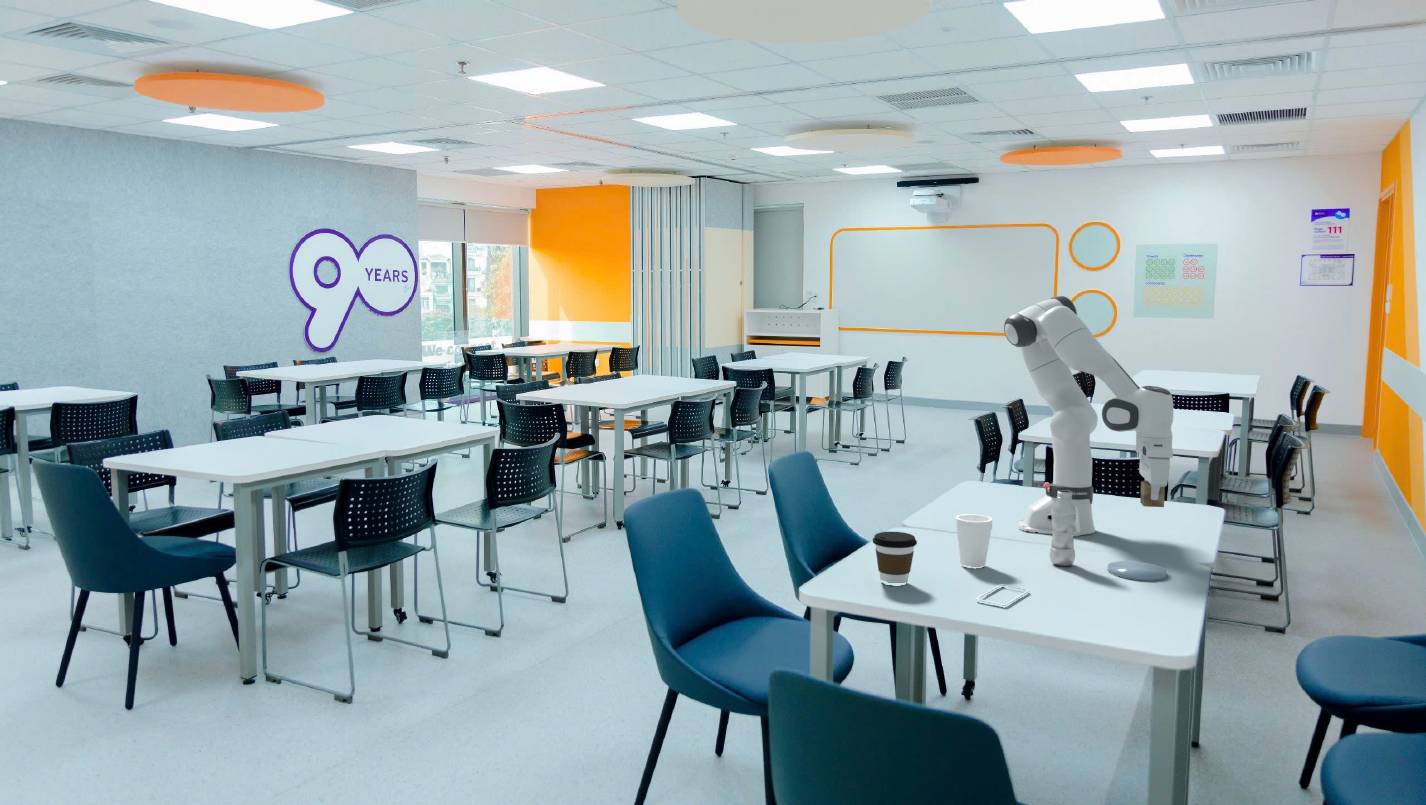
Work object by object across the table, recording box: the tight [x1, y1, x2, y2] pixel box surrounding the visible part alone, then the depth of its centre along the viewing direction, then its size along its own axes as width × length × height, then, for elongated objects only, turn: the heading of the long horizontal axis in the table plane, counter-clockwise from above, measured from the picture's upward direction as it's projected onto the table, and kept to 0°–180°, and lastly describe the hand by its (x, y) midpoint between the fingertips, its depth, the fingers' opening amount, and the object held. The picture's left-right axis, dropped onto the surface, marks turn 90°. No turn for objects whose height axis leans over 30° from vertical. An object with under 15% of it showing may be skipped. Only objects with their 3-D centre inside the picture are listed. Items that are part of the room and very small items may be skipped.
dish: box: [1107, 560, 1168, 582], centre depth 240 cm, size 14×14×1 cm
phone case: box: [975, 583, 1030, 606], centre depth 221 cm, size 7×1×15 cm
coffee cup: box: [872, 531, 918, 583], centre depth 232 cm, size 11×11×12 cm
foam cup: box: [955, 513, 993, 567], centre depth 247 cm, size 10×9×13 cm
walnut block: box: [1139, 480, 1166, 508], centre depth 251 cm, size 5×5×6 cm
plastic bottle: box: [1048, 490, 1077, 567], centre depth 247 cm, size 6×7×20 cm
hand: (1151, 497), depth 251 cm, fingers closed on walnut block, 5 cm apart
